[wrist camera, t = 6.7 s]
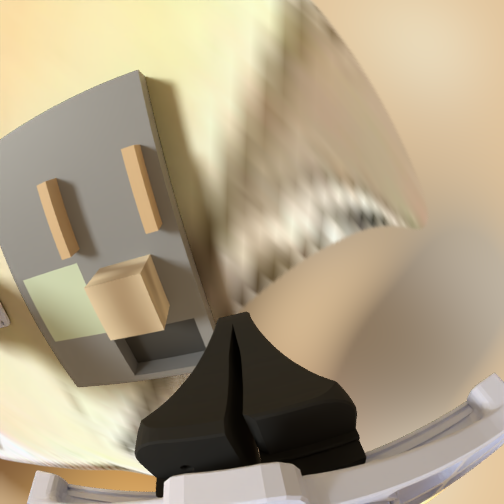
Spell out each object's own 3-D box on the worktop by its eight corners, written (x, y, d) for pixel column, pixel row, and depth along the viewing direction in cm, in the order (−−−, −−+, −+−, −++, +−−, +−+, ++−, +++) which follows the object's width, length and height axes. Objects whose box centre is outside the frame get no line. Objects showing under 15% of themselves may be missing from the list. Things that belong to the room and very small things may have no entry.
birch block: (121, 316, 20) (110, 340, 17) (99, 268, 18) (84, 288, 16) (169, 305, 20) (164, 329, 17) (150, 254, 19) (140, 273, 16)
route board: (83, 373, 24) (73, 397, 21) (-10, 154, 16) (-36, 159, 12) (225, 350, 24) (227, 378, 21) (145, 76, 16) (131, 64, 13)
